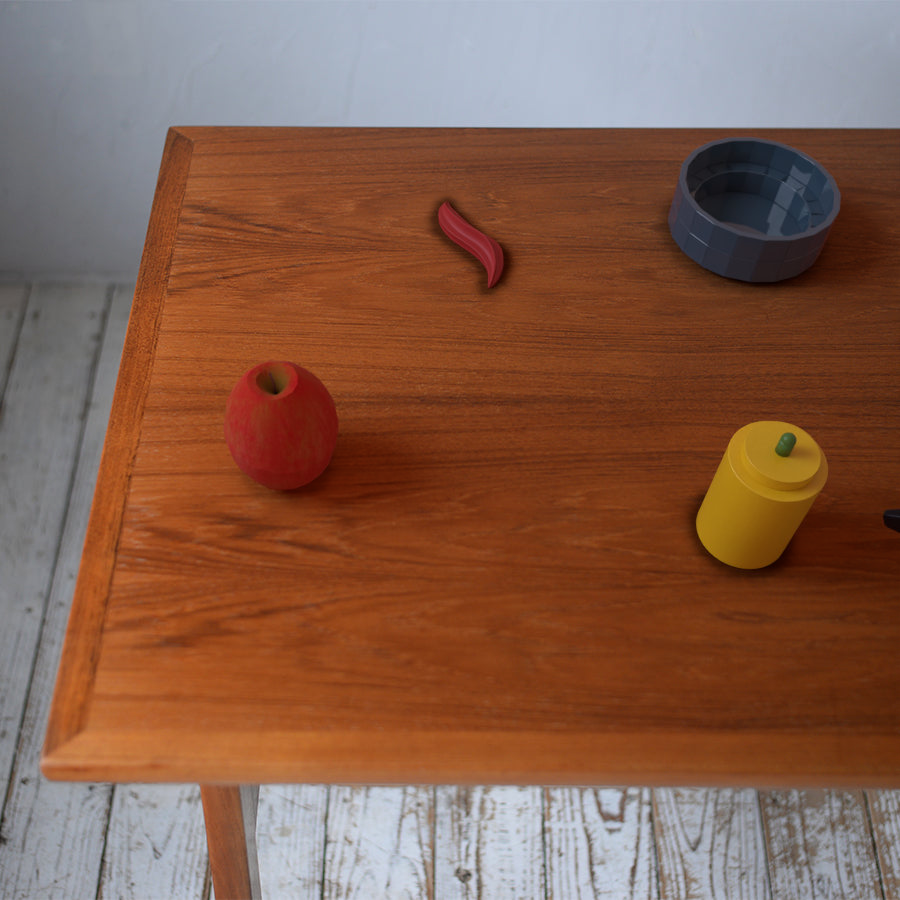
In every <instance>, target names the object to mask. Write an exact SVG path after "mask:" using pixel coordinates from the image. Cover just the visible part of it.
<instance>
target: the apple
mask: <svg viewBox="0 0 900 900" xmlns="http://www.w3.org/2000/svg"><path fill="white" fill-rule="evenodd" d="M339 424H340V423H339V418H338V413H337V409H336V403H335V400H334V398H333V396H332V395H331V393H330V392H329V390H328V388H327V386H326V385H325V384H324V383H323V382H322V381H321V379H320V378H318V377H317V375H315V374H314V373H313V372H312V371H309V369H307V368H305V367H303V366H301V365H299V364H296V363H295V362H291V361H290V360H271V359H269V360H267V361H264V362H261V363H259V364H257V365H255V366H253V367H252V368H250V369H249V370H248V371H246V372H245V373H243V375H242V376H241V377H240V378H239V379H238V381H236V383H235V385H234V387H233V388H232V390H231V391H230V394H229V396H228V398H227V399H226V405H225V413H224V420H223V428H222V429H223V433H224V434H223V435H224V438H225V439H224V440H225V443H226V445H227V447H228V450H229V452H230V455H231V457H232V460H233V461H234V462H235V464H236V465H237V466H238V468H239V470H241V471H242V472H243V473H244V474H246V475H247V476H248V477H250V478H251V479H252V480H253V481H254V482H255V483H257V484H258V485H260V486H263V487H265V488H266V489H270V490H279V491H283V490H295V489H298V488H300V487H303V486H306V485H308V484H310V483H311V482H312V481H314V480H316V478H318V477H319V476H321V475H322V474H323V473H324V471H325V470H326V469H327V467H328V466H329V465H330V462H331V460H332V458H333V454H334V452H335V449H336V445H337V440H338V436H339V435H338V433H339Z"/></svg>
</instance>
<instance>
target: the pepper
mask: <svg viewBox="0 0 900 900" xmlns="http://www.w3.org/2000/svg"><path fill="white" fill-rule="evenodd" d="M825 455H826V454H825V453H824V451H823V450H822V448H821V446H820V445H819V444H818V443H817V442H816V440H814V438H813V437H812V436H811V435H810V434H809V433H808V432H807V431H805V430H804V429H802V428H801V427H798V426H797V425H795V424H792V423H788V422H785V421H779V420H778V421H777V420H760V421H755V422H751V423H749V424H746V425H744V426H743V427H741V428H740V429H738V430H737V431H735V433H734V434H733V435H732V437H731V438H730V441H729V443H728V445H727V447H726V449H725V452H724V454H723V456H722V459H721V461H720V463H719V465H718V467H717V469H716V472H715V473H714V477H713V478H712V481H711V482H710V485H709V487H708V490H707V493H706V494H705V496H704V499H703V501H702V502H701V505H700V507H699V510H698V512H697V515H696V520H695V524H696V527H695V528H696V532H697V535H698V538H699V540H700V542H701V544H702V545H703V546H704V548H705V549H706V551H708V552H709V553H710V554H711V555H712V556H713V557H714V558H716V559H717V560H718V561H720V562H722V563H724V564H726V565H728V566H731V567H734V568H737V569H741V570H742V569H743V570H756V569H762V568H766V567H767V566H769V565H772V564H773V563H774V562H776V561H777V560H778V559H779V558H780V557H781V555H782V554H783V552H784V551H785V550H786V548H787V546H788V544H789V543H790V542H791V540H792V538H793V536H794V534H795V533H796V531H797V530H798V528H799V527H800V525H801V524H802V522H803V520H804V519H805V517H806V516H807V514H808V512H809V511H810V509H811V508H812V506H813V504H814V503H815V501H816V499H817V498H818V497H819V494H820V493H821V491H822V490H823V488H824V486H825V484H826V483H827V481H828V476H829V466H828V465H829V464H828V461H827V457H826V456H825Z"/></svg>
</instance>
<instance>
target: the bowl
mask: <svg viewBox="0 0 900 900" xmlns="http://www.w3.org/2000/svg"><path fill="white" fill-rule="evenodd" d="M841 195H842V194H841V192H840V189H839V187H838V185H837V182H836V180H835V178H834V176H833V175H832V174H831V173H830V172H829V171H828V170H827V169H826V168H825V167H824V166H823V164H822V163H820V162H819V161H817V160H816V159H815V158H813V157H811V156H810V155H808V154H807V153H805V152H804V151H802V150H800V149H798V148H795V147H793V146H790V145H787V144H784V143H782V142H780V141H776V140H771V139H766V138H760V137H755V136H754V137H753V136H731V137H725V138H720V139H716V140H711V141H709V142H707V143H706V142H705V144H703V145H701V146H699V147H697V148H695V149H694V150H692V151H691V152H690V153H689V155H688V156H687V157H686V158H685V159H684V160H683V162H682V163H681V166H680V169H679V174H678V178H677V181H676V185H675V188H674V192H673V196H672V200H671V204H670V207H669V212H668V217H667V223H668V228H669V231H670V236H671V238H672V239H673V240H674V242H675V244H676V245H677V246H678V247H679V249H680V250H681V251H682V253H683V254H684V255H686V256H687V257H688V258H690V259H691V260H693V262H695V263H697V264H698V265H699V266H700V267H701V268H703V269H706V270H708V271H710V272H713V273H715V274H717V275H720V276H722V277H725V278H729V279H734V280H739V281H742V282H743V281H744V282H748V283H774V282H779V281H783V280H788V279H791V278H795V277H797V276H799V275H800V274H802V273H804V272H805V271H806V270H808V269H810V268H811V267H813V266H814V264H815V262H816V260H817V259H818V257H819V256H820V254H821V253H822V251H823V248H824V247H825V244H826V242H827V240H828V239H829V238H828V237H829V235H830V233H831V231H832V229H833V226H834V224H835V223H836V221H837V217H838V216H839V213H840V211H841V197H842V196H841Z"/></svg>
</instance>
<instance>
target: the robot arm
mask: <svg viewBox="0 0 900 900" xmlns="http://www.w3.org/2000/svg"><path fill="white" fill-rule="evenodd" d="M882 520H883V524H884V526H885V527H886V528H888V529H890V530H892V531H894V532H896V533H898V534H900V508H892V509H885V510H883V513H882Z"/></svg>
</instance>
